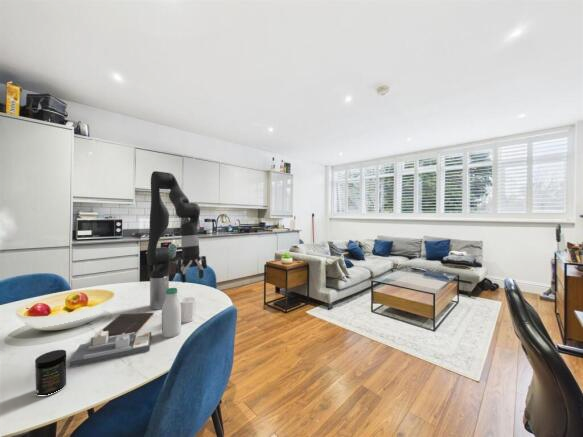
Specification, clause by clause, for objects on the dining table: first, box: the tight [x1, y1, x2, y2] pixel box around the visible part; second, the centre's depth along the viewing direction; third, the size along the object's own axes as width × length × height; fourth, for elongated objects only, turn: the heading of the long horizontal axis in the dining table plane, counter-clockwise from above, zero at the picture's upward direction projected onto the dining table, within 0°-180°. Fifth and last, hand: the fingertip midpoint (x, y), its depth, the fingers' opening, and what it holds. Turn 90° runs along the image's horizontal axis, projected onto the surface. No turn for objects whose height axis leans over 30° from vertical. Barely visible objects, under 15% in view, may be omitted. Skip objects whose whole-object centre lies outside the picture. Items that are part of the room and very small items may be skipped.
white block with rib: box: [115, 333, 130, 349], centre depth 94 cm, size 4×4×4 cm
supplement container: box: [34, 349, 67, 396], centre depth 74 cm, size 7×7×10 cm
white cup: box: [178, 296, 197, 323], centre depth 122 cm, size 8×8×10 cm
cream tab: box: [92, 329, 108, 346], centre depth 95 cm, size 4×4×4 cm
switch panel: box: [68, 331, 152, 368], centre depth 95 cm, size 12×24×3 cm, turn 117°
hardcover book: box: [90, 312, 155, 343], centre depth 113 cm, size 16×23×2 cm
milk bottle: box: [161, 287, 182, 338], centre depth 108 cm, size 8×8×20 cm
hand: (192, 280), depth 113 cm, fingers open, 8 cm apart
